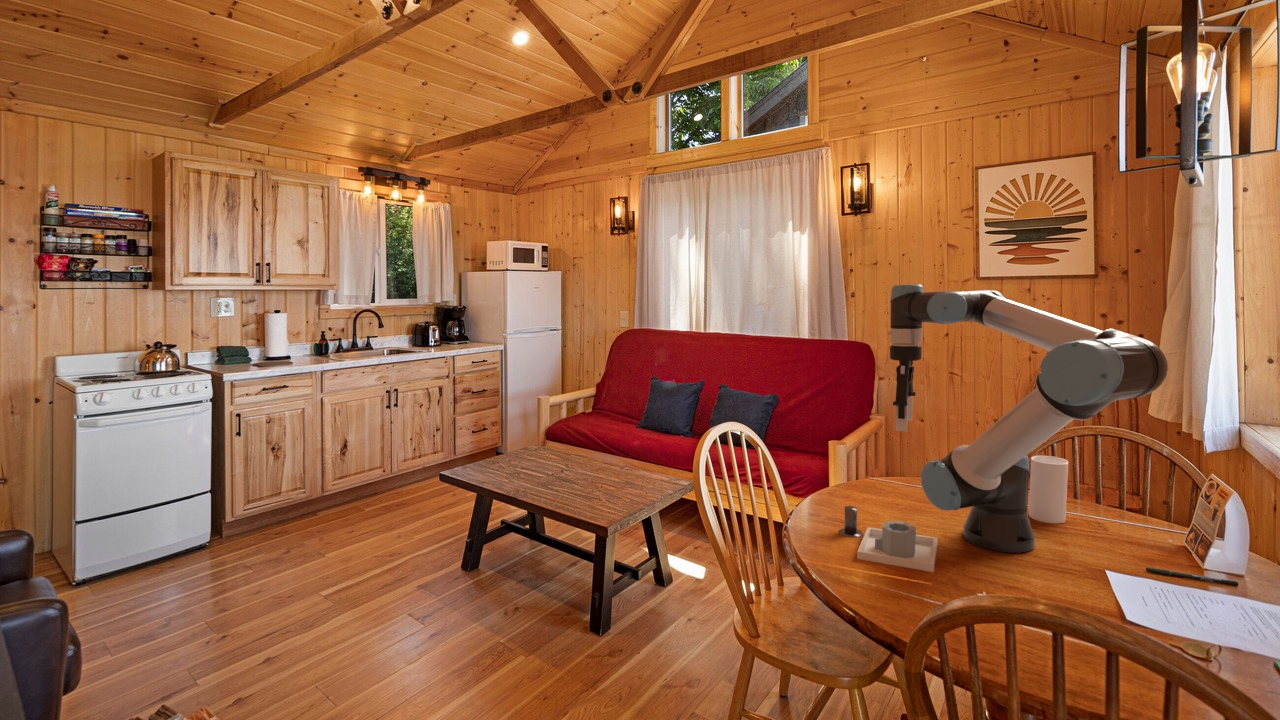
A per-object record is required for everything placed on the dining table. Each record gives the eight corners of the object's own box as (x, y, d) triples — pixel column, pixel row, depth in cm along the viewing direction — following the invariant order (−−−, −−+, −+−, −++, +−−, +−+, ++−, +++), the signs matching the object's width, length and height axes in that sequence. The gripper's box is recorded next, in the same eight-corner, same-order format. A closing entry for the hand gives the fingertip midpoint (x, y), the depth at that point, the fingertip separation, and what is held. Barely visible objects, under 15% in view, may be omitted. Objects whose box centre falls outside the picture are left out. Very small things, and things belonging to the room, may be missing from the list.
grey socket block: (916, 548, 145) (916, 524, 144) (913, 560, 139) (914, 534, 138) (877, 542, 149) (877, 518, 148) (873, 553, 143) (873, 528, 142)
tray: (937, 546, 147) (937, 537, 147) (933, 574, 133) (933, 564, 133) (867, 535, 154) (867, 527, 154) (857, 560, 140) (857, 551, 140)
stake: (864, 532, 157) (865, 505, 156) (860, 540, 151) (861, 513, 151) (840, 528, 160) (840, 502, 159) (836, 536, 154) (836, 510, 154)
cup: (1071, 524, 158) (1074, 464, 156) (1036, 522, 159) (1039, 463, 158) (1056, 512, 166) (1059, 456, 164) (1023, 511, 167) (1025, 455, 166)
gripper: (895, 340, 169) (894, 415, 171) (883, 348, 147) (882, 434, 149) (925, 340, 165) (923, 417, 168) (917, 349, 144) (915, 437, 146)
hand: (904, 425), depth 159 cm, fingers open, 13 cm apart
